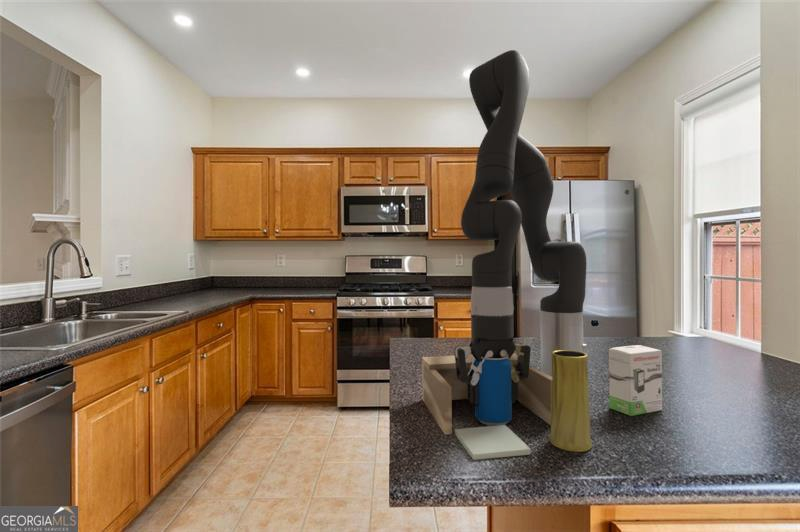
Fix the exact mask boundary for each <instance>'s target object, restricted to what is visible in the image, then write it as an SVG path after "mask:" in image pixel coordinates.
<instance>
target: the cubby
mask: <svg viewBox="0 0 800 532" xmlns="http://www.w3.org/2000/svg"><path fill="white" fill-rule="evenodd" d="M517 358H518V355H516V352H514V353H513V355H512V356H511V358H510V360H511V362H512V364H513V366H514V368H515V371H516V370H517ZM473 360H474V357H473V355H472V354H469V355H468V358H467V359H466V369H467V375H468V373H469V371H470V369H471V365H472V362H473ZM421 369H422V371H421V374H422V375H421V376H422V382H421V383H422V391H421V392H422V401H423V402H424V404H425V407H426V408H427V409H428V411H429V412H430V414H431V416H432V417H433V418H434V420H435V421H436V423H437V425H438V426H439V427H440V429H441V431H442V432H443V434H444V435H446V436H447V435H448V436H449V435H452V434H453V430H452V429H453V423H452V422H453V417H452V416H453V415H452V412H453V411H452V404H453V402H452V401H456V400H468V384H467V383H463V382H462V381H461V380H460V379H458V378H457V372H456V363H455V355H442V356H441V355H440V356H439V355H438V356H437V355H436V356H423V357H421ZM516 402H518V403H520V404H521V405H523V406H524V407H525V408H526V409H528V410H530V411H531V412H532V413H534V414H535V415H536V416H537V417H539V419H541V420H543V421H544V422H546V423H547V424H548V425H549V426H551V409H552V377H551V376H549V375H547V374H545V373H543V372H541V370H539V369H537V368H536V367H534V366H531V365H530V364H529V376H528V378H526V379H525V378H523V379H521V380H520V381H519V382H518V399H517V401H516Z"/></svg>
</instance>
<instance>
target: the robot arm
mask: <svg viewBox="0 0 800 532" xmlns="http://www.w3.org/2000/svg"><path fill="white" fill-rule="evenodd" d="M468 80H469V81H468V82H469V83H468V84H469V90H470V93H471V96H472V99H473V101H474V103H475V104H474V105H475V106H476V109H477V111H478V113H479V115H480V117H481V119H482V121H483V123H484V126H485V128H486V133H485V134H484V137H483V139H482V141H481V142H480V146H479V148H478V151H477V156H476V157H477V158H476V163H475V164H476V165H475V177H474V182H473V184H472V188H471V189H470V193H469V196H468V198H467V200H466V202H465V205H464V207H463V210H462V213H461V219H460V226H461V230H462V233H463V235H464V236H465V237H466V239H468V240H470V241H474V242H475V241H476V242H477V241H478V242H479V241H496V240H499V242H498V244H497V246H496V247H495V248H494V249H493V250H491V251H489V252H484V253H483V252H482V253H479V254H477V255H475V256H473V258H472V260H471V285H472V286H471V296H470V331H471V332H470V335H471V336H470V337H471V340H470V344H469V345H468V346H463V347H460V346H457V345H456V346H455V347H454V349H453V350H454V351H453V352H454V356H455V363H456V372H457V378H458V379H460V380H461V381H462V382H463V383H467V384H468V399H467V400H468V402H470V403H471V404H472V406H474V407H475V406H478V404H479V401H478V385H477V382H478V380H479V374H481V373H482V363H483V362H484V361H485V358H505V357H508V360H509V361H510V362H511V360H510V358H511V356H512V355H513V353H515V354H516V355H518V358H517V370H516V371H515V368H514V366H513V364H512V362H511V397H512V404H515V403H516V402H517V401H516V400H517V399H518V382H519V381H520V380H521V379H523V378H525V379H526V378H528V376H529V365H530V363H531V361H530V360H531V346H529V345H527V344H525V343H521V342H520V343H519V344H518V343H517V344H516V343H515V341H514V336H515V335H514V334H515V332H514V331H515V330H514V324H515V323H514V322H515V321H514V310H515V305H514V295H513V287H512V286H513V283H512V282H513V281H512V280H513V277H512V276H513V275H512V271H513V270H512V268H513V267H512V266H513V256H514V251H515V247H516V243H517V239H518V236H519V233H520V229H521V227H522V231H523V235H524V240H525V242H526V247H527V252H528V255H529V260H530V264H531V266H532V269H533V272H534V274H535V275H536V277H537V278H539V279H540V280H542V281H545V282H546V281H547V282H559V283H558V288H557V290H556V291H555V292H554V293H552V294H550V295H547V296H544V297H542V298H541V299H540V301H539V302H540V303H539V307H540V308H539V309H540V311H539V312H540V316H539V317H540V371H541V372H543V373H545V374H547V375H549V376H551V377H552V352H553V351H556V350H573V351H579V352H584V353H586V354H587V355H588V345H587V344H586V343H584V302H585V298H586V288H587V287H586V285H587V284H586V283H587V282H586V280H587V255H586V251H585V249H584V247H583V246H582V244H581V243H579V242H577V241H555V242H552V239H551V237H550V234H549V231H548V225H547V215H548V212H549V209H550V206H551V202H552V199H553V193H554V181H553V177H552V174H551V170H550V168H549V165H548V161H547V159H546V157H545V155H544V154H543V153H542V152H541V151H540V149H538V148H537V147H536V146H535V145H534V144H532V143H531V142H530V141H528V140H527V139H526V138H525V137H523V136H522V135H521V134H520V133H519V132H520V128H521V125H522V124H521V123H522V120H523V117H524V112H525V110H526V109H525V108H526V104H527V100H528V95H529V92H530V83H531V82H530V81H531V78H530V70H529V66H528V64H527V62H526V59H525V57H524V56H523V55H522V54H521V53H520V52H519V51H517V50H514V49H513V50H512V49H511V50H506V51H504V52H503V53H501V54H499V55H498V56H495V57H493V58H491V59H490V60H487V61H486V62H484V63H482V64H480V65H479V66H477V67H475V68H474V69H472V70H471V72H470V74H469V79H468ZM508 193H509V194H510V196H511V199H501V200H493V199H495V198H499V197H502V196H505V195H507V194H508ZM468 355H473V357H474V360H473V362H472V365H471V369H470V371H469V373H468V375H467V369H466V359H467V358H468ZM481 357H483V358H481ZM475 359H476V360H477V361H481V362H480V364H479V366H478V367H476V366H475ZM587 369H588V367H587ZM588 370H589V369H588Z"/></svg>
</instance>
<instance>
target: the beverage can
mask: <svg viewBox="0 0 800 532" xmlns="http://www.w3.org/2000/svg"><path fill="white" fill-rule="evenodd" d="M481 358H483V357H481ZM480 362H481V361H477V360H476V359H475V366H476V367H478V366H479V364H480ZM477 385H478V401H479V404H478V406H474V416H475V418H476V419H477V420H478V421H479V422H480V423H482V424H483V425H485V426H498V425H506V426H507V424H508V423H509V422H511V421H512V418H513V415H512V412H513V411H512V405H513V403H512V397H511V362H510V361H509V360H508V357H505V358H485V361H484V362H483V363H482V373H481V374H479V380H478V382H477Z"/></svg>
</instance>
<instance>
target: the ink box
mask: <svg viewBox="0 0 800 532" xmlns="http://www.w3.org/2000/svg"><path fill="white" fill-rule="evenodd" d="M662 353H663V352H662V350H661V349H657V348H653V347H650V346H646V345H641V344H636V345H635V344H634V345H625V346H616V347H611V348H609V349H608V373H609V374H608V377H609V379H608V383H609V390H608V391H609V393H608V395H609V397H608V398H609V409H611V410H614V411H617V412H620V413H622V414H625V415H627V416H629V417H633V416H638V415H644V414H648V413H653V412H654V413H655V412H659V411H662V410H663V364H662V363H663V362H662V361H663V354H662Z"/></svg>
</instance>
